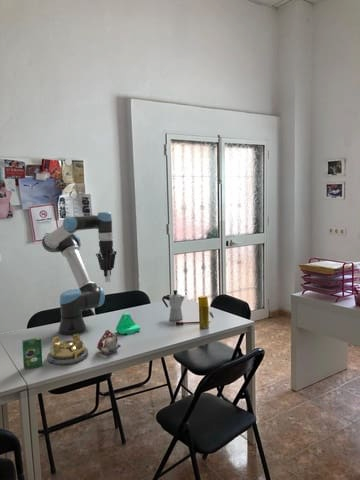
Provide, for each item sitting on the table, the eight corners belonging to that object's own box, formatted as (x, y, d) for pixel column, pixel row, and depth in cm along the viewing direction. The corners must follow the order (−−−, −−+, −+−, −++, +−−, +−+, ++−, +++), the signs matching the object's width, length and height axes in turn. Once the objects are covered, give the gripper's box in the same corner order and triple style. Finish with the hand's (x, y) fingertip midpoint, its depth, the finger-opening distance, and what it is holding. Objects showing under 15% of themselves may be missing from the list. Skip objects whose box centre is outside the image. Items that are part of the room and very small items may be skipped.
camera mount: (121, 336, 216) (120, 318, 214) (116, 332, 222) (115, 314, 221) (140, 331, 222) (140, 314, 221) (135, 328, 228) (134, 311, 227)
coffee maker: (186, 316, 247) (186, 288, 245) (185, 320, 238) (184, 292, 236) (163, 316, 249) (162, 288, 247) (161, 320, 240) (160, 292, 238)
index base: (38, 360, 185) (38, 350, 185) (69, 346, 201) (68, 337, 201) (66, 368, 175) (66, 358, 175) (96, 353, 191) (95, 344, 191)
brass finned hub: (70, 361, 178) (69, 347, 177) (43, 356, 184) (42, 343, 183) (91, 348, 192) (90, 336, 191) (65, 344, 199) (65, 332, 198)
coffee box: (42, 363, 182) (40, 336, 180) (43, 365, 179) (41, 338, 178) (23, 367, 178) (21, 340, 176) (24, 370, 175) (22, 342, 174)
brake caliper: (110, 340, 203) (117, 325, 196) (120, 357, 197) (127, 342, 191) (90, 346, 195) (97, 331, 189) (100, 364, 189) (108, 349, 183)
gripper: (100, 241, 208) (102, 284, 211) (119, 239, 218) (121, 280, 220) (91, 240, 213) (94, 283, 216) (110, 238, 223) (112, 278, 225)
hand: (107, 281), depth 218 cm, fingers closed
